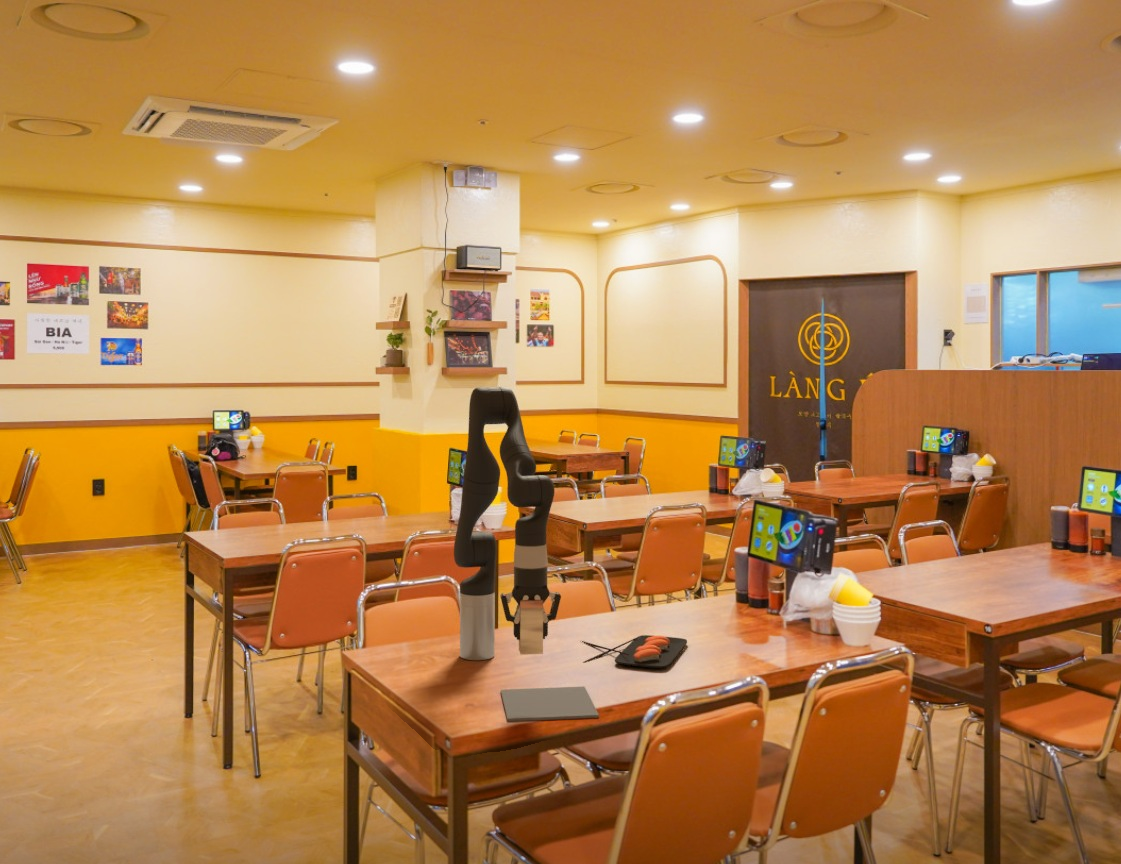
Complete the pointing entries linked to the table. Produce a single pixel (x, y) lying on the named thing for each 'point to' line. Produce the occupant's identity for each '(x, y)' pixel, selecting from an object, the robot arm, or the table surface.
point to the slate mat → (548, 704)
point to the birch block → (531, 627)
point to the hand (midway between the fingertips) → (530, 638)
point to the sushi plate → (647, 651)
